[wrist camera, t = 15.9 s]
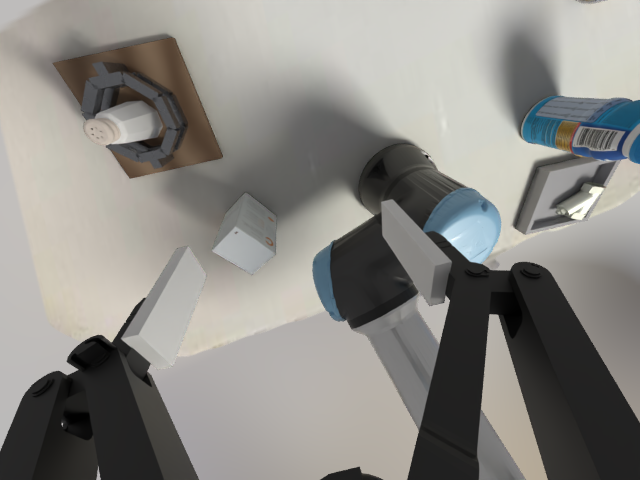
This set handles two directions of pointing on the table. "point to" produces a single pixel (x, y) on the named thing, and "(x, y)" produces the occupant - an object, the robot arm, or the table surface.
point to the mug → (590, 1)
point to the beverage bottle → (586, 127)
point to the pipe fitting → (580, 201)
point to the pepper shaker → (124, 124)
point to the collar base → (167, 70)
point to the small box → (247, 235)
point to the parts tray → (560, 191)
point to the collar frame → (115, 76)
